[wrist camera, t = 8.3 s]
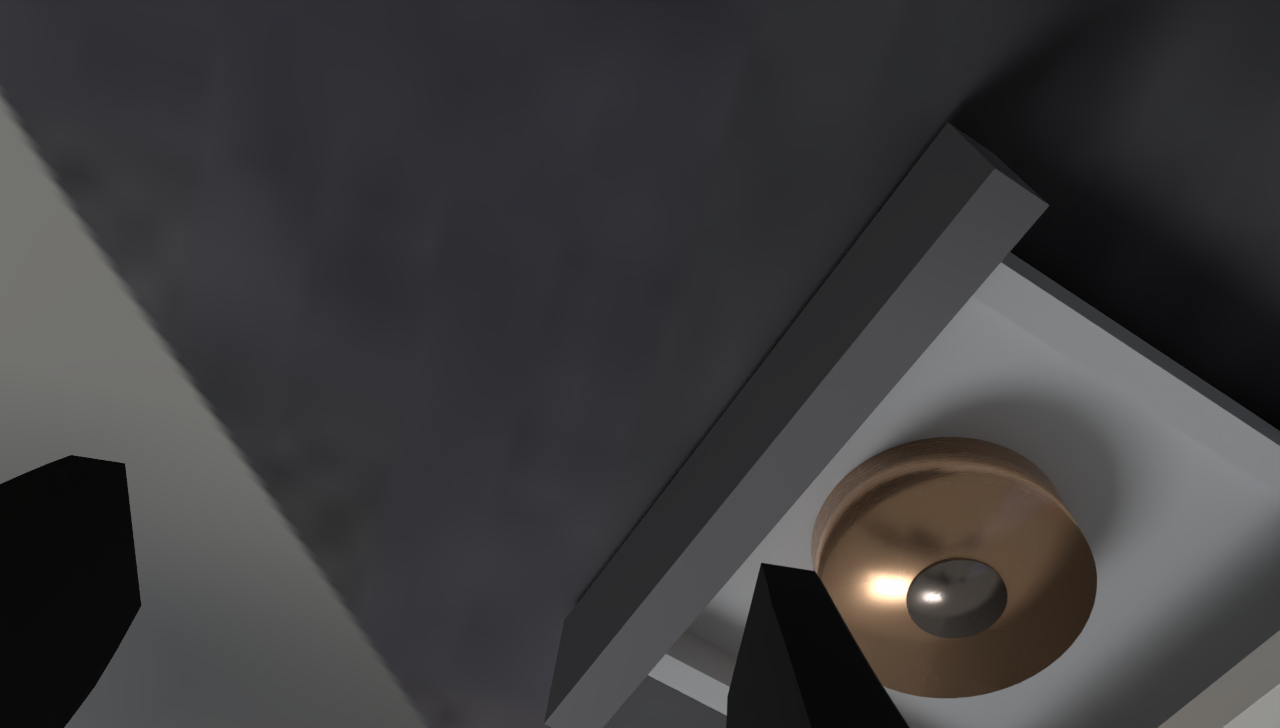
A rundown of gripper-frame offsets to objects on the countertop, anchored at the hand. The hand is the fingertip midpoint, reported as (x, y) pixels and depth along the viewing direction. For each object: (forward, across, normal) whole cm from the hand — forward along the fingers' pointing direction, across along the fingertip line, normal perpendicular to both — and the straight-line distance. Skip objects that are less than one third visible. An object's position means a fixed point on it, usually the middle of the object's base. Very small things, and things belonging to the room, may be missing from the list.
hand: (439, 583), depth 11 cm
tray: (+8, -10, +4) cm, 13 cm away
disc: (+7, -8, +4) cm, 12 cm away
